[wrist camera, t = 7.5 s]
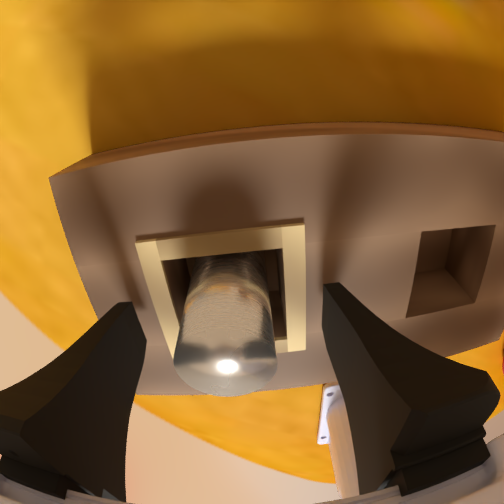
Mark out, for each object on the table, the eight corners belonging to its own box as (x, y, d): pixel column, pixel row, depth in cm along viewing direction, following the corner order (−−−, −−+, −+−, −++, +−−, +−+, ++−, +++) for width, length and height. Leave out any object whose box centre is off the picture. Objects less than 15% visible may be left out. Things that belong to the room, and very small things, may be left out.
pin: (266, 280, 16) (279, 392, 10) (203, 286, 16) (186, 398, 10) (260, 222, 15) (274, 323, 9) (192, 229, 15) (161, 332, 9)
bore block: (470, 303, 19) (500, 341, 15) (150, 345, 19) (136, 397, 15) (502, 132, 13) (553, 150, 9) (91, 154, 13) (46, 179, 10)
